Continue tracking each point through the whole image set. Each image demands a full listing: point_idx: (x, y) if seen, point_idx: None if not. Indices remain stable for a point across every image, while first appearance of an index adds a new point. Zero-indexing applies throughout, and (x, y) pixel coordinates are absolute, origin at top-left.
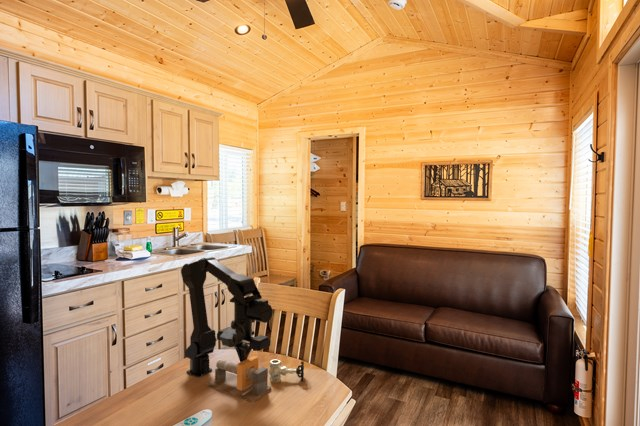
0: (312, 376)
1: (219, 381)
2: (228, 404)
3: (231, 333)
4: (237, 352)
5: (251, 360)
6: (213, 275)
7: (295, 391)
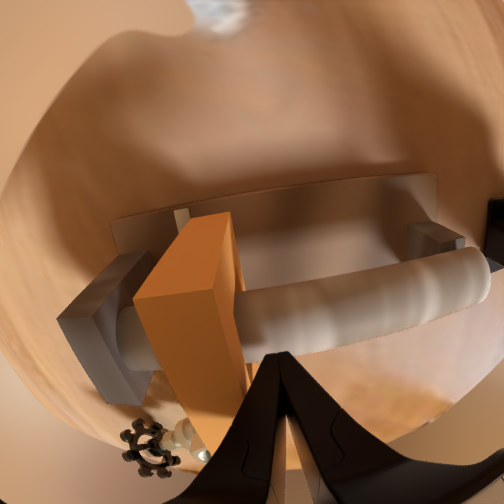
0: None
1: (401, 219)
2: (185, 116)
3: None
4: (347, 428)
5: (190, 417)
6: None
7: None
